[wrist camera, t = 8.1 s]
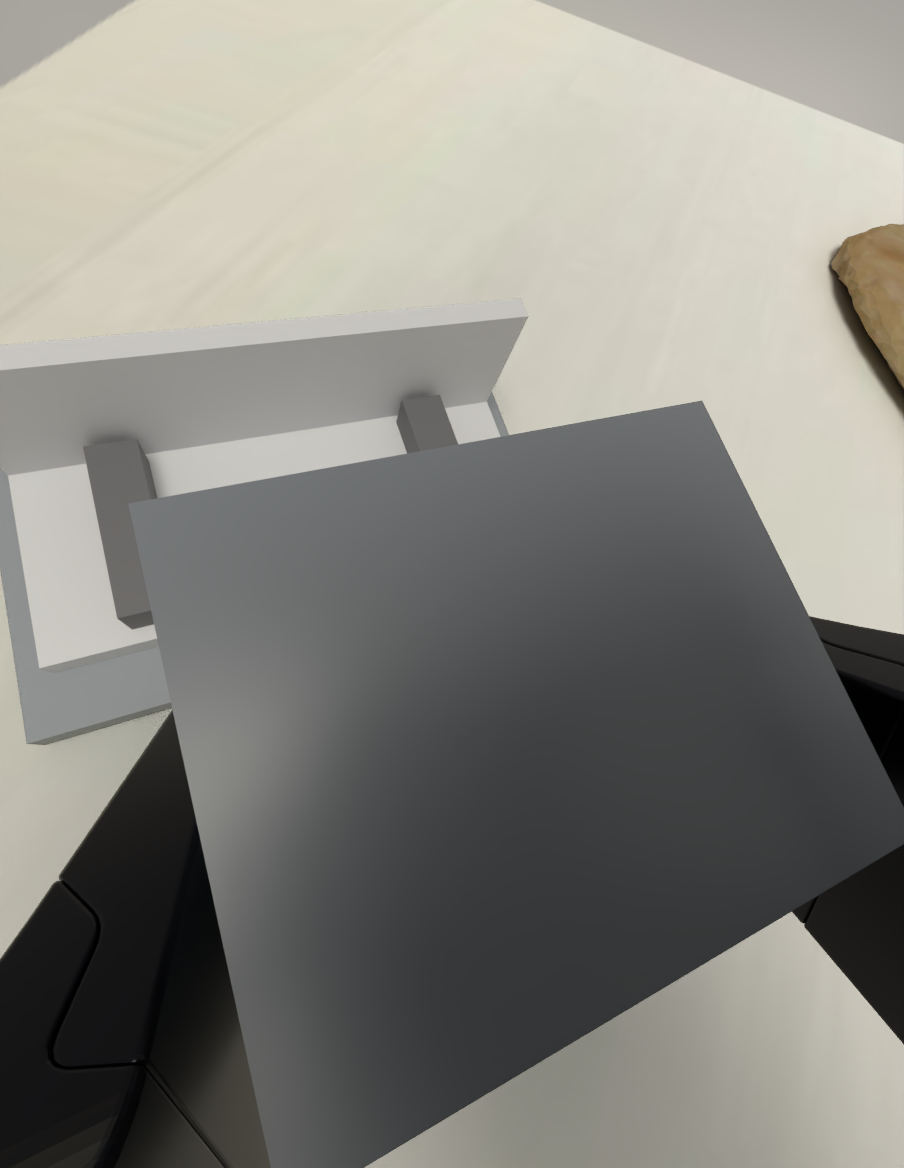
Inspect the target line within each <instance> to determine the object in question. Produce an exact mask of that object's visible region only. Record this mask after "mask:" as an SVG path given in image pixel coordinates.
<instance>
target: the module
mask: <svg viewBox="0 0 904 1168" xmlns="http://www.w3.org/2000/svg"><path fill="white" fill-rule="evenodd" d="M128 505H129V510H130V514H131V519H132V524H133V528H134V533H135V538H136V542H137V547H138V552H139V556H140V561H141V566H142V570H143V575H144V580H145V584H146V589H147V594H148V598H149V603H150V607H151V612H152V617H153V621H154V626H155V631H156V635H157V640H158V645H159V649H160V654H161V659H162V663H163V668H164V673H165V677H166V682H167V687H168V691H169V696H170V701H171V705H172V710H173V715H174V719H175V724H176V729H177V733H178V738H179V742H180V747H181V752H182V756H183V761H184V766H185V770H186V775H187V780H188V784H189V789H190V794H191V798H192V803H193V808H194V812H195V817H196V822H197V826H198V831H199V836H200V840H201V845H202V850H203V854H204V859H205V864H206V868H207V873H208V878H209V882H210V887H211V891H212V896H213V901H214V905H215V910H216V915H217V919H218V924H219V929H220V933H221V938H222V943H223V947H224V952H225V957H226V961H227V966H228V971H229V975H230V980H231V985H232V989H233V994H234V999H235V1003H236V1008H237V1013H238V1017H239V1022H240V1026H241V1031H242V1036H243V1040H244V1045H245V1050H246V1054H247V1059H248V1064H249V1068H250V1073H251V1078H252V1082H253V1087H254V1092H255V1096H256V1101H257V1106H258V1110H259V1115H260V1120H261V1124H262V1129H263V1134H264V1138H265V1143H266V1148H267V1152H268V1157H269V1161H270V1166H271V1168H364V1167H365V1166H367V1165H369V1164H371V1163H372V1162H374V1161H376V1160H377V1159H379V1158H381V1157H382V1156H384V1155H386V1154H387V1153H389V1152H391V1151H392V1150H394V1149H396V1148H397V1147H399V1146H401V1145H402V1144H404V1143H406V1142H407V1141H409V1140H411V1139H412V1138H414V1137H416V1136H417V1135H419V1134H421V1133H422V1132H424V1131H426V1130H427V1129H429V1128H431V1127H432V1126H434V1125H436V1124H437V1123H439V1122H441V1121H442V1120H444V1119H446V1118H447V1117H449V1116H451V1115H452V1114H454V1113H456V1112H457V1111H459V1110H461V1109H462V1108H464V1107H466V1106H467V1105H469V1104H471V1103H472V1102H474V1101H476V1100H477V1099H479V1098H481V1097H482V1096H484V1095H486V1094H487V1093H489V1092H491V1091H492V1090H494V1089H496V1088H497V1087H499V1086H501V1085H502V1084H504V1083H506V1082H507V1081H509V1080H511V1079H512V1078H514V1077H516V1076H517V1075H519V1074H521V1073H522V1072H524V1071H526V1070H527V1069H529V1068H531V1067H532V1066H534V1065H536V1064H537V1063H539V1062H541V1061H542V1060H544V1059H546V1058H547V1057H549V1056H551V1055H552V1054H554V1053H556V1052H557V1051H559V1050H561V1049H563V1048H564V1047H566V1046H568V1045H569V1044H571V1043H573V1042H574V1041H576V1040H578V1039H579V1038H581V1037H583V1036H584V1035H586V1034H588V1033H589V1032H591V1031H593V1030H594V1029H596V1028H598V1027H599V1026H601V1025H603V1024H604V1023H606V1022H608V1021H609V1020H611V1019H613V1018H614V1017H616V1016H618V1015H619V1014H621V1013H623V1012H624V1011H626V1010H628V1009H629V1008H631V1007H633V1006H634V1005H636V1004H638V1003H639V1002H641V1001H643V1000H644V999H646V998H648V997H649V996H651V995H653V994H654V993H656V992H658V991H659V990H661V989H663V988H664V987H666V986H668V985H669V984H671V983H673V982H674V981H676V980H678V979H679V978H681V977H683V976H684V975H686V974H688V973H689V972H691V971H693V970H694V969H696V968H698V967H699V966H701V965H703V964H704V963H706V962H708V961H709V960H711V959H713V958H714V957H716V956H718V955H719V954H721V953H723V952H724V951H726V950H728V949H729V948H731V947H733V946H734V945H736V944H738V943H739V942H741V941H743V940H744V939H746V938H748V937H749V936H751V935H753V934H754V933H756V932H758V931H760V930H761V929H763V928H765V927H766V926H768V925H770V924H771V923H773V922H775V921H776V920H778V919H780V918H781V917H783V916H785V915H786V914H788V913H790V912H791V911H793V910H795V909H796V908H798V907H800V906H801V905H803V904H805V903H806V902H808V901H810V900H811V899H813V898H815V897H816V896H818V895H820V894H821V893H823V892H825V891H826V890H828V889H830V888H831V887H833V886H835V885H836V884H838V883H840V882H841V881H843V880H845V879H846V878H848V877H850V876H851V875H853V874H855V873H856V872H858V871H860V870H861V869H863V868H865V867H866V866H868V865H870V864H871V863H873V862H875V861H876V860H878V859H880V858H881V857H883V856H885V855H886V854H888V853H890V852H891V851H893V850H895V849H896V848H898V847H900V846H901V845H903V844H904V807H903V805H902V803H901V801H900V799H899V797H898V795H897V793H896V791H895V789H894V787H893V785H892V783H891V781H890V779H889V777H888V775H887V773H886V771H885V769H884V767H883V765H882V763H881V761H880V759H879V757H878V755H877V753H876V751H875V749H874V747H873V745H872V743H871V741H870V739H869V737H868V735H867V733H866V730H865V728H864V726H863V724H862V722H861V720H860V718H859V716H858V714H857V712H856V710H855V708H854V706H853V704H852V702H851V700H850V698H849V696H848V694H847V692H846V690H845V688H844V686H843V684H842V682H841V680H840V678H839V676H838V674H837V672H836V670H835V668H834V666H833V664H832V662H831V660H830V658H829V656H828V654H827V652H826V650H825V648H824V646H823V644H822V642H821V640H820V638H819V636H818V634H817V632H816V630H815V628H814V626H813V624H812V622H811V620H810V617H809V615H808V613H807V611H806V609H805V607H804V605H803V603H802V601H801V599H800V597H799V595H798V593H797V591H796V589H795V587H794V585H793V583H792V581H791V579H790V577H789V575H788V573H787V571H786V569H785V567H784V565H783V563H782V561H781V559H780V557H779V555H778V553H777V551H776V549H775V547H774V545H773V543H772V541H771V539H770V537H769V535H768V533H767V531H766V529H765V527H764V525H763V523H762V521H761V519H760V517H759V515H758V513H757V511H756V509H755V507H754V504H753V502H752V500H751V498H750V496H749V494H748V492H747V490H746V488H745V486H744V484H743V482H742V480H741V478H740V476H739V474H738V472H737V470H736V468H735V466H734V464H733V462H732V460H731V458H730V456H729V454H728V452H727V450H726V448H725V446H724V444H723V442H722V440H721V438H720V436H719V434H718V432H717V430H716V428H715V426H714V424H713V422H712V420H711V418H710V416H709V414H708V412H707V410H706V408H705V406H704V404H703V402H702V401H698V402H692V403H687V404H681V405H676V406H670V407H664V408H659V409H653V410H648V411H642V412H637V413H631V414H625V415H620V416H614V417H609V418H603V419H597V420H592V421H586V422H581V423H575V424H570V425H564V426H558V427H553V428H547V429H542V430H536V431H530V432H525V433H519V434H514V435H508V436H503V437H497V438H491V439H486V440H480V441H475V442H469V443H463V444H458V445H452V446H447V447H441V448H436V449H430V450H424V451H419V452H413V453H408V454H402V455H396V456H391V457H385V458H380V459H374V460H369V461H363V462H357V463H352V464H346V465H341V466H335V467H329V468H324V469H318V470H313V471H307V472H302V473H296V474H290V475H285V476H279V477H274V478H268V479H262V480H257V481H251V482H246V483H240V484H235V485H229V486H223V487H218V488H212V489H207V490H201V491H195V492H190V493H184V494H179V495H173V496H168V497H162V498H156V499H151V500H145V501H140V502H134V503H128Z"/></svg>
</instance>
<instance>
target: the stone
mask: <svg viewBox="0 0 904 1168" xmlns="http://www.w3.org/2000/svg"><path fill="white" fill-rule="evenodd" d="M831 265H832V268H833V270H834V271H836V272H837V274H838V275H839V278H838V279H839V280H840V281H842V282H843V283H844V284H845V285H846V286H847V288H848V291H849V294H850V295H851V297H852V301H853V306H854V308H855V310H856V312H857V313H858V315H859V317H860V319H861V321H862V323H863V325H864V327H865V329H866V331H867V333H868V335H869V336H870V337H871V339H872V340H873V341H874V343H875V344H876V346H877V348H878V349H879V350H880V352H881V354H882V356H883V358H884V359H885V360H886V361H887V363H888V366H889V369H890V370H891V371H892V372H893V373H894V375H895V376H896V378H897V380H898V382H899V384H900V385H901V386H902V388H903V390H904V225H897V224H888V225H886V226H880V227H876V228H872V229H870V230H868V231H866V232H864V233H860V234H857V235H855V236H851V237H848V238H847V239H846V240H845V241H844V242H843V244H842V246H841V248H840V250H839V252H838V253H837V255H836V256H835V258H834V259H833V261H832V262H831Z"/></svg>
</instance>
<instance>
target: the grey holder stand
mask: <svg viewBox="0 0 904 1168" xmlns="http://www.w3.org/2000/svg"><path fill="white" fill-rule="evenodd" d="M527 318H528V314H527V312H526V310H525V307H524V305H523V303H522V300H521V298H517V299H506V300H495V301H484V302H473V303H462V304H451V305H439V306H428V307H417V308H406V309H395V310H384V311H373V312H362V313H350V314H339V315H328V316H317V317H306V318H295V319H284V320H273V321H261V322H250V323H239V324H228V325H217V326H206V327H195V328H184V329H173V330H161V331H150V332H139V333H128V334H117V335H106V336H95V337H84V338H72V339H61V340H50V341H39V342H28V343H17V344H6V345H0V571H1V577H2V584H3V590H4V597H5V603H6V610H7V616H8V623H9V629H10V636H11V642H12V649H13V656H14V662H15V669H16V675H17V682H18V688H19V695H20V701H21V708H22V714H23V721H24V727H25V734H26V741H27V744H38V745H46V744H49V743H53V742H56V741H59V740H63V739H66V738H70V737H73V736H76V735H80V734H83V733H87V732H90V731H94V730H97V729H100V728H104V727H107V726H111V725H114V724H118V723H121V722H124V721H128V720H131V719H135V718H138V717H142V716H145V715H148V714H152V713H155V712H159V711H162V710H166V709H169V708H172V705H171V701H170V696H169V691H168V687H167V682H166V677H165V673H164V668H163V663H162V659H161V654H160V649H159V645H158V640H157V635H156V631H155V626H154V621H153V617H152V612H151V607H150V603H149V598H148V594H147V589H146V584H145V580H144V575H143V570H142V566H141V561H140V556H139V552H138V547H137V542H136V538H135V533H134V528H133V524H132V519H131V514H130V510H129V505H128V503H134V502H140V501H145V500H151V499H156V498H162V497H168V496H173V495H179V494H184V493H190V492H195V491H201V490H207V489H212V488H218V487H223V486H229V485H235V484H240V483H246V482H251V481H257V480H262V479H268V478H274V477H279V476H285V475H290V474H296V473H302V472H307V471H313V470H318V469H324V468H329V467H335V466H341V465H346V464H352V463H357V462H363V461H369V460H374V459H380V458H385V457H391V456H396V455H402V454H408V453H413V452H419V451H424V450H430V449H436V448H441V447H447V446H452V445H458V444H463V443H469V442H475V441H480V440H486V439H491V438H497V437H503V436H508V435H509V434H508V431H507V429H506V426H505V424H504V421H503V419H502V416H501V414H500V411H499V409H498V406H497V404H496V401H495V399H494V396H493V394H492V390H493V388H494V386H495V384H496V382H497V380H498V378H499V376H500V374H501V371H502V369H503V367H504V365H505V363H506V361H507V359H508V357H509V355H510V353H511V351H512V349H513V347H514V345H515V343H516V341H517V339H518V337H519V335H520V332H521V330H522V328H523V326H524V324H525V322H526V320H527Z"/></svg>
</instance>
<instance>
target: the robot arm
mask: <svg viewBox="0 0 904 1168" xmlns="http://www.w3.org/2000/svg"><path fill="white" fill-rule="evenodd" d="M809 617H810V616H809ZM810 620H811V622H812V624H813V626H814V628H815V630H816V632H817V634H818V636H819V638H820V640H821V642H822V644H823V646H824V648H825V650H826V652H827V654H828V656H829V658H830V660H831V662H832V664H833V666H834V668H835V670H836V672H837V674H838V676H839V678H840V680H841V682H842V684H843V686H844V688H845V690H846V692H847V694H848V696H849V698H850V700H851V702H852V704H853V706H854V708H855V710H856V712H857V714H858V716H859V718H860V720H861V722H862V724H863V726H864V728H865V730H866V733H867V735H868V737H869V739H870V741H871V743H872V745H873V747H874V749H875V751H876V753H877V755H878V757H879V759H880V761H881V763H882V765H883V767H884V769H885V771H886V773H887V775H888V777H889V779H890V781H891V783H892V785H893V787H894V789H895V791H896V793H897V795H898V797H899V799H900V801H901V803H902V805H903V807H904V635H903V634H897V633H892V632H886V631H881V630H875V629H870V628H864V627H859V626H854V625H849V624H844V623H839V622H834V621H829V620H824V619H819V618H815V617H810ZM59 880H60V881H56V882H55V883H53V885H52V886H51V888H50V889H49V890H48V892H47V893H46V895H45V896H44V898H43V899H42V901H41V902H40V904H39V905H38V907H37V908H36V909H35V911H34V912H33V914H32V915H31V917H30V918H29V919H28V921H27V922H26V924H25V925H24V926H23V928H22V929H21V931H20V932H19V933H18V935H17V936H16V938H15V939H14V940H13V942H12V943H11V945H10V946H9V947H8V949H7V950H6V952H5V953H4V954H3V956H2V957H1V959H0V1168H271V1166H270V1161H269V1157H268V1152H267V1148H266V1143H265V1138H264V1134H263V1129H262V1124H261V1120H260V1115H259V1110H258V1106H257V1101H256V1096H255V1092H254V1087H253V1082H252V1078H251V1073H250V1068H249V1064H248V1059H247V1054H246V1050H245V1045H244V1040H243V1036H242V1031H241V1026H240V1022H239V1017H238V1013H237V1008H236V1003H235V999H234V994H233V989H232V985H231V980H230V975H229V971H228V966H227V961H226V957H225V952H224V947H223V943H222V938H221V933H220V929H219V924H218V919H217V915H216V910H215V905H214V901H213V896H212V891H211V887H210V882H209V878H208V873H207V868H206V864H205V859H204V854H203V850H202V845H201V840H200V836H199V831H198V826H197V822H196V817H195V812H194V808H193V803H192V798H191V794H190V789H189V784H188V780H187V775H186V770H185V766H184V761H183V756H182V752H181V747H180V742H179V738H178V733H177V729H176V724H175V719H174V715H173V710H172V711H171V712H170V714H169V715H168V717H167V718H166V720H165V721H164V723H163V724H162V726H161V727H160V729H159V730H158V732H157V733H156V734H155V736H154V737H153V739H152V740H151V742H150V743H149V745H148V746H147V748H146V749H145V751H144V752H143V753H142V755H141V756H140V758H139V759H138V761H137V762H136V764H135V765H134V767H133V768H132V770H131V771H130V772H129V774H128V775H127V777H126V778H125V780H124V781H123V783H122V784H121V786H120V787H119V789H118V790H117V791H116V793H115V794H114V796H113V797H112V799H111V800H110V802H109V803H108V805H107V806H106V808H105V809H104V811H103V812H102V813H101V815H100V816H99V818H98V819H97V821H96V822H95V824H94V825H93V827H92V828H91V830H90V831H89V832H88V834H87V835H86V837H85V838H84V840H83V841H82V843H81V844H80V846H79V847H78V849H77V850H76V851H75V853H74V854H73V856H72V857H71V859H70V860H69V862H68V863H67V865H66V866H65V868H64V869H63V870H62V872H61V873H60V875H59ZM792 912H793V913H794V914H795V916H796V917H797V918H798V919H799V920H800V922H802V923H805V924H804V926H805V928H806V929H807V930H808V932H809V933H810V934H811V935H812V936H813V938H814V939H815V940H816V941H817V942H818V943H819V945H820V946H821V947H822V948H823V949H824V951H825V952H826V953H827V954H828V955H829V956H830V958H831V959H832V960H833V961H834V962H835V964H836V965H837V966H838V967H839V968H840V969H841V971H842V972H843V973H844V974H845V975H846V977H847V978H848V979H849V980H850V981H851V982H852V984H853V985H854V986H855V987H856V988H857V990H858V991H859V992H860V993H861V994H862V995H863V997H864V998H865V999H866V1000H867V1001H868V1003H869V1004H870V1005H871V1006H872V1007H873V1008H874V1010H875V1011H876V1012H877V1013H878V1014H879V1016H880V1017H881V1018H882V1019H883V1020H884V1021H885V1023H886V1024H887V1025H888V1026H889V1027H890V1029H891V1030H892V1031H893V1032H894V1033H895V1035H896V1036H897V1037H898V1038H899V1039H900V1040H901V1042H902V1043H903V1044H904V844H903V845H901V846H900V847H898V848H896V849H895V850H893V851H891V852H890V853H888V854H886V855H885V856H883V857H881V858H880V859H878V860H876V861H875V862H873V863H871V864H870V865H868V866H866V867H865V868H863V869H861V870H860V871H858V872H856V873H855V874H853V875H851V876H850V877H848V878H846V879H845V880H843V881H841V882H840V883H838V884H836V885H835V886H833V887H831V888H830V889H828V890H826V891H825V892H823V893H821V894H820V895H818V896H816V897H815V898H813V899H811V900H810V901H808V902H806V903H805V904H803V905H801V906H800V907H798V908H796V909H795V910H793V911H792Z"/></svg>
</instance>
